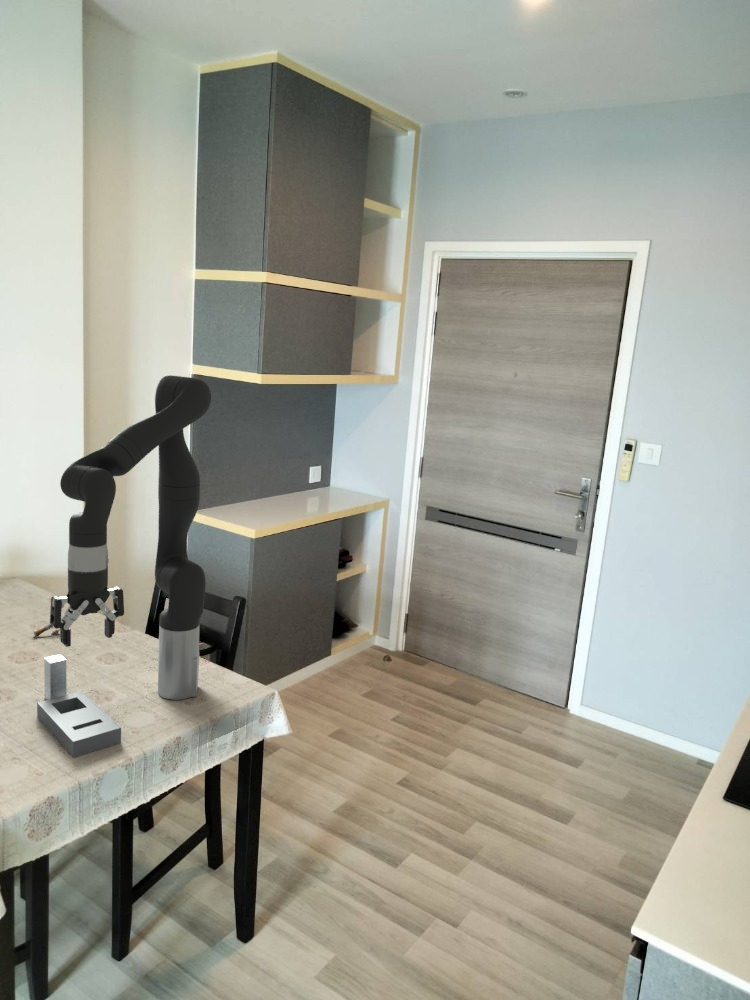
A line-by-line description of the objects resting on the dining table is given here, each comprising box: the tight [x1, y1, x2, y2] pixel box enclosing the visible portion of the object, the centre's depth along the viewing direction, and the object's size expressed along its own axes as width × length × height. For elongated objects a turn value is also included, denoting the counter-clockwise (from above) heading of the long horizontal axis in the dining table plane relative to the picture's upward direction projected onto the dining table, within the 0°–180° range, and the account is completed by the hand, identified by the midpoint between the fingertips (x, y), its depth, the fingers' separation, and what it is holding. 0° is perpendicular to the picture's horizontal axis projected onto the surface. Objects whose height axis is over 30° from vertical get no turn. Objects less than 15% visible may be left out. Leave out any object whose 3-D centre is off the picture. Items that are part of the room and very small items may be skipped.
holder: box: [36, 690, 122, 758], centre depth 162 cm, size 20×10×4 cm, turn 43°
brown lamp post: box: [32, 617, 63, 639], centre depth 209 cm, size 2×8×4 cm, turn 127°
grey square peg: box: [43, 654, 67, 700], centre depth 174 cm, size 4×4×10 cm
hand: (87, 640), depth 154 cm, fingers open, 8 cm apart
